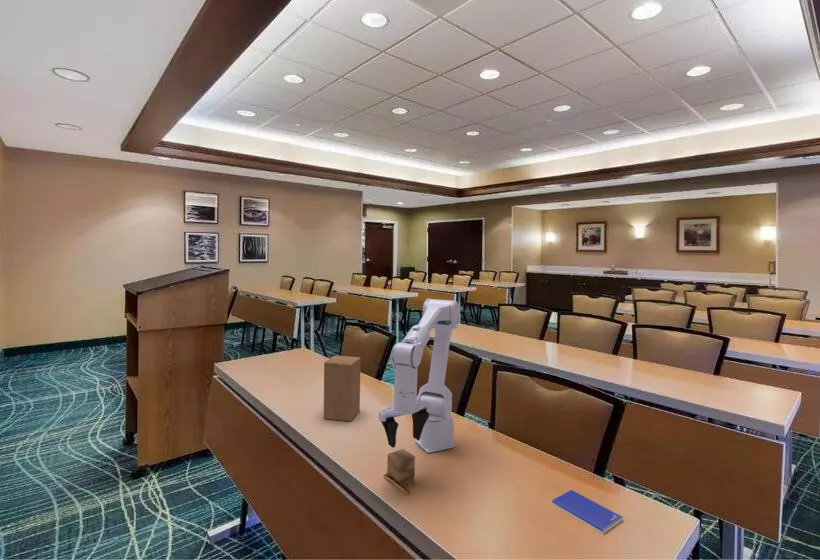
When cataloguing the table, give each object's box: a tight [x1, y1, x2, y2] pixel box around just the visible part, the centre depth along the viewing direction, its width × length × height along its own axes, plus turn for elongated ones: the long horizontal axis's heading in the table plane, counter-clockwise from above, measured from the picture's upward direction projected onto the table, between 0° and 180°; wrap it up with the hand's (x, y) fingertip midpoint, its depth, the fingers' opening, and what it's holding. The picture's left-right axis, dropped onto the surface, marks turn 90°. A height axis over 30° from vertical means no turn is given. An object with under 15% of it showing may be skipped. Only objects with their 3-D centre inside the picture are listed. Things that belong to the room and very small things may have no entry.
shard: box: [383, 472, 414, 495], centre depth 103 cm, size 11×8×2 cm
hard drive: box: [551, 489, 623, 535], centre depth 93 cm, size 2×8×12 cm
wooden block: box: [323, 355, 361, 423], centre depth 144 cm, size 10×10×20 cm
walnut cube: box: [386, 448, 416, 482], centre depth 105 cm, size 5×5×5 cm
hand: (404, 442), depth 105 cm, fingers open, 7 cm apart
